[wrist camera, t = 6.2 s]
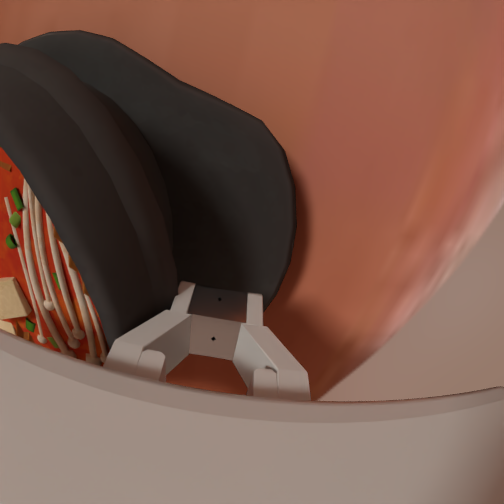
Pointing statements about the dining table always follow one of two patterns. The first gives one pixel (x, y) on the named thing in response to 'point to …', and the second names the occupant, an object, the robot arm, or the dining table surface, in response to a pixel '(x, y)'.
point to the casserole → (126, 193)
